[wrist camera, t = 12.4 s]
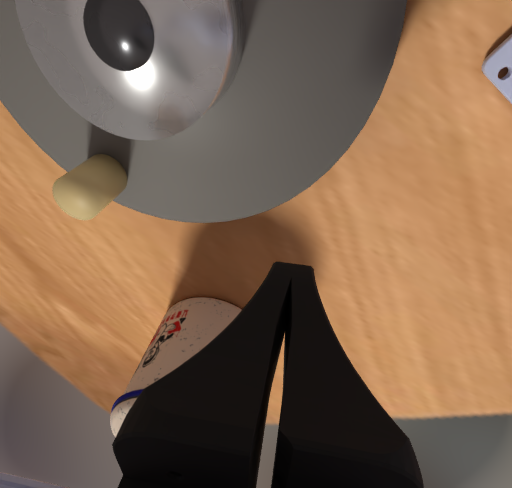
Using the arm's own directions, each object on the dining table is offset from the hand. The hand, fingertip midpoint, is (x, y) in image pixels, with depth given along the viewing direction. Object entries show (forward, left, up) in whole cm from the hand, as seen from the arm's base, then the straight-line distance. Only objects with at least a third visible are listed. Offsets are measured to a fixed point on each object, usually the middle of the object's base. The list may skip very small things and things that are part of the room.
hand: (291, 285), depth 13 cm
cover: (+10, -2, -7) cm, 13 cm away
